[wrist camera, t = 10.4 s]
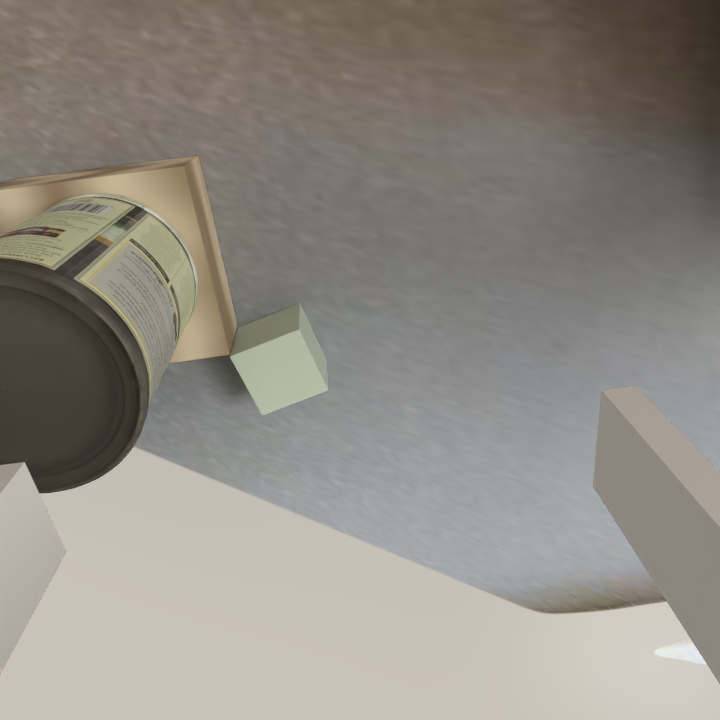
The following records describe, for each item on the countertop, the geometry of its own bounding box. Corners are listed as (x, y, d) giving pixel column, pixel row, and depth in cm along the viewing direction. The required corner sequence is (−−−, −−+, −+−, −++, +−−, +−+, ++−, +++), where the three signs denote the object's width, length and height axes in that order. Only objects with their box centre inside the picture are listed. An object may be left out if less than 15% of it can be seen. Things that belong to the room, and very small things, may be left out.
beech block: (198, 155, 37) (183, 165, 33) (237, 325, 42) (229, 354, 38) (11, 179, 37) (-30, 194, 32) (74, 348, 42) (47, 380, 38)
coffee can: (99, 381, 38) (-2, 531, 25) (-16, 245, 34) (-207, 345, 21) (233, 309, 37) (197, 430, 24) (132, 158, 32) (22, 208, 20)
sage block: (299, 302, 42) (299, 329, 38) (326, 358, 44) (328, 390, 40) (237, 327, 43) (229, 356, 38) (266, 381, 45) (262, 415, 40)
